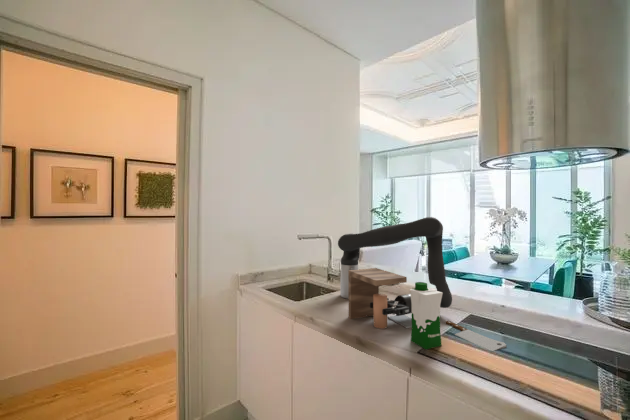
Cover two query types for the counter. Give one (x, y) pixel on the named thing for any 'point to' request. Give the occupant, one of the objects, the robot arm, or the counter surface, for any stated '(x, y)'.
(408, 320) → the slate mat
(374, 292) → the walnut shelf
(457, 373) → the counter surface
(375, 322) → the peach cylinder
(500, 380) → the counter surface
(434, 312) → the milk carton
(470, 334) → the kitchen cleaver
